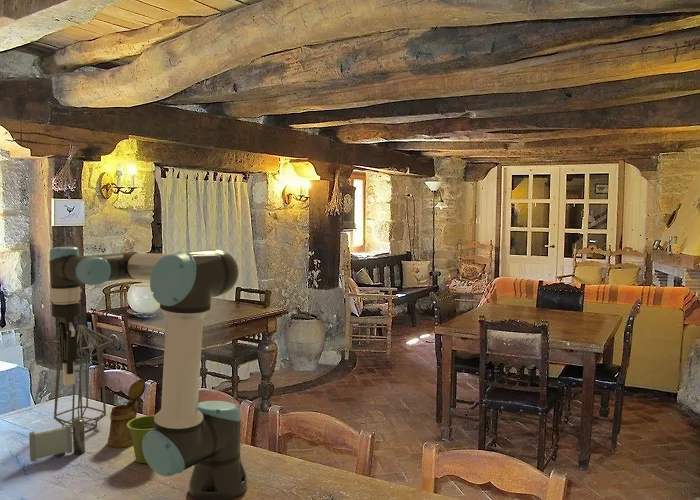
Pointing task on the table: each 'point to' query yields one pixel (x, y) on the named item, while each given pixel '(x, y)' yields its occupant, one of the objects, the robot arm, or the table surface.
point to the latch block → (60, 454)
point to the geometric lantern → (86, 332)
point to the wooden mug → (125, 417)
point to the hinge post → (78, 436)
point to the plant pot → (140, 434)
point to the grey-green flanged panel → (50, 442)
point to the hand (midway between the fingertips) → (69, 384)
